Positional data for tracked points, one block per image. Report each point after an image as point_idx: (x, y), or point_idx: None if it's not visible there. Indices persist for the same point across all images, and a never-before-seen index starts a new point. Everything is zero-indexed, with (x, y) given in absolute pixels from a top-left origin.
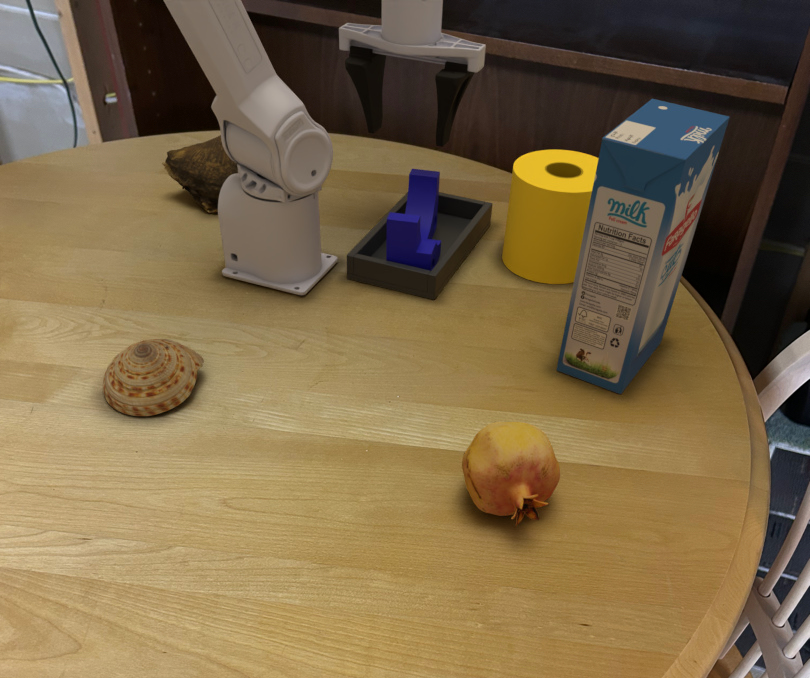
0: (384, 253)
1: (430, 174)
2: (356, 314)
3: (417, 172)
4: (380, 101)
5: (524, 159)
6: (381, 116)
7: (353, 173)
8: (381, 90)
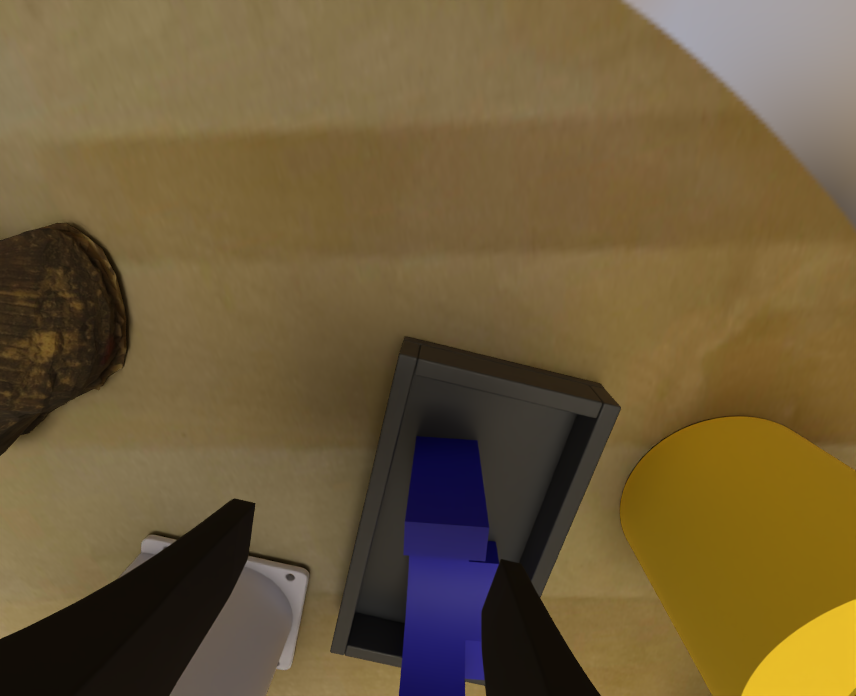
0: (388, 554)
1: (463, 547)
2: (382, 684)
3: (424, 540)
4: (200, 577)
5: (788, 662)
6: (236, 532)
7: (198, 149)
8: (171, 599)
